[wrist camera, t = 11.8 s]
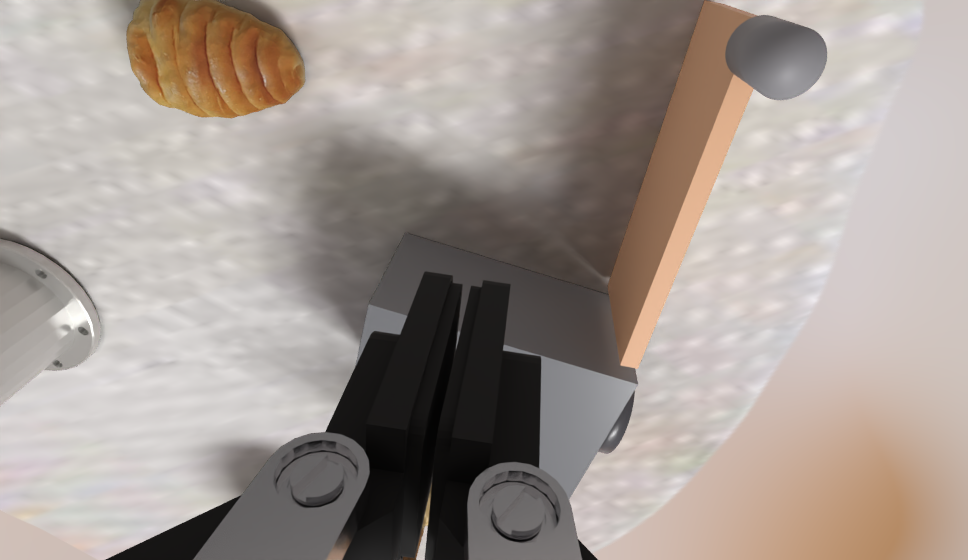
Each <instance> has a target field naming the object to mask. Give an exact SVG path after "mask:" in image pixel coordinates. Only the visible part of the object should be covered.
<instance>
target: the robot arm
mask: <svg viewBox="0 0 968 560" xmlns="http://www.w3.org/2000/svg"><path fill="white" fill-rule="evenodd" d="M510 286H511V284H508V283H501V282H494V281H488V280H483V283H482V287H478V286H471V288H470V292H469V297H468V301H467V305H466V310H465V314H464V318H463V322H462V327H461V331H460V335H459V340H458V344H457V335H458V326H459V317H460V307H461V298H462V288H463V284H458V283H453V275H448V274H441V273H434V272H428V271H425V272H424V274H423V277H422V279H421V282H420V284H419V287H418V289H417V292H416V295H415V297H414V300H413V302H412V305H411V308H410V310H409V313H408V315H407V318H406V321H405V323H404V326H403V328H402V331H401V333H400V335H399V334H392V333H386V332H379V331H374V332H372V333H371V335H370V337H369V339H368V341H367V343H366V345H365V347H364V350H363V352H362V354H361V356H360V358H359V360H358V363H357V365H356V367H355V369H354V371H353V373H352V376H351V378H350V380H349V382H348V384H347V386H346V388H345V391H344V393H343V395H342V397H341V399H340V401H339V404H338V406H337V408H336V410H335V412H334V414H333V417H332V419H331V421H330V423H329V425H328V427H327V430H326V432H322V433H310V434H307V435H304V436H301V437H298V438H295V439H293V440H291V441H290V442H288V443H286V444H285V445H283V446H281V447H280V448H279V449H278V450H277V451H276V452H275V453H274V454H273V455H272V456H271V457H270V458H269V460H268V461H267V462H266V464H265V465H264V466H263V468H262V469H261V470H260V472H259V473H258V474H257V476H256V477H255V478H254V480H253V481H252V482H251V484H250V485H249V486H248V487H247V489H246V490H245V491H244V493H243V494H242V495H241V496H239V497H237V498H234V499H232V500H230V501H228V502H226V503H224V504H222V505H220V506H218V507H215V508H213V509H211V510H209V511H207V512H205V513H203V514H201V515H199V516H197V517H194V518H192V519H190V520H188V521H186V522H184V523H182V524H180V525H178V526H175V527H173V528H171V529H169V530H167V531H165V532H163V533H161V534H159V535H157V536H154V537H152V538H150V539H148V540H146V541H144V542H142V543H140V544H138V545H135V546H133V547H131V548H129V549H127V550H125V551H123V552H121V553H119V554H116V555H114V556H112V557H110V558H108V559H106V560H403V557H409V558H415V556H416V552H417V548H418V543H419V539H420V534H421V530H422V525H423V521H424V516H425V512H426V507H427V503H428V498H429V493H430V489H431V499H430V509H429V520H428V531H427V541H426V552H425V560H597V558H596V557H595V556H594V555H593V554H592V553H591V552H590V551H589V550H588V549H587V548H586V547H585V546H584V545H583V544H582V543H581V542H580V541H579V540H578V537H577V533H576V528H575V523H574V518H573V513H572V508H571V505H570V502H569V499H568V497H567V494H566V492H565V491H564V489H563V488H562V487H561V485H560V484H559V483H558V481H557V480H556V479H554V478H553V477H552V476H551V475H549V474H548V473H547V472H545V471H544V470H542V469H539V459H540V409H541V356H536V355H529V354H523V353H516V352H510V351H503V347H504V338H505V330H506V321H507V312H508V304H509V295H510ZM100 337H101V327H100V322H99V318H98V315H97V312H96V310H95V308H94V306H93V304H92V302H91V300H90V299H89V297H88V296H87V294H86V293H85V291H84V290H83V289H82V287H81V286H80V285H79V284H78V283H77V282H76V281H75V280H74V279H73V278H72V277H71V276H70V275H69V274H68V273H67V272H66V271H64V270H63V269H62V268H61V267H60V266H59V265H57V264H56V263H54V262H53V261H51V260H50V259H48V258H47V257H45V256H44V255H42V254H40V253H38V252H36V251H34V250H32V249H30V248H28V247H26V246H23V245H20V244H18V243H15V242H12V241H8V240H3V239H0V406H1V405H2V404H4V403H5V402H6V401H7V400H8V399H10V398H11V397H12V396H13V395H14V394H16V393H17V392H18V391H19V390H20V389H22V388H23V387H24V386H25V385H26V384H28V383H29V382H30V381H31V380H32V379H34V378H35V377H36V376H37V375H38V374H40V373H41V372H42V371H43V370H52V371H57V370H67V369H70V368H73V367H77V366H78V365H80V364H81V363H83V362H84V361H85V360H87V359H88V358H89V357H90V356H91V355H92V354H93V353H94V352H95V350H96V349H97V347H98V345H99V342H100ZM456 344H457V348H456ZM431 484H432V488H431Z"/></svg>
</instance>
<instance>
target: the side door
mask: <svg viewBox="0 0 968 560" xmlns="http://www.w3.org/2000/svg"><path fill="white" fill-rule="evenodd" d="M826 61H827V48H826V44H825V42H824V40H823V38H822V37H821V36H820V35H819V34H818V33H817V32H816V31H814V30H812V29H810V28H807V27H804V26H801V25H798V24H795V23H792V22H789V21H786V20H782V19H779V18H776V17H773V16H768V15H761V16H757V15H754V14H751V13H748V12H745V11H742V10H739V9H736V8H734V7H731V6H728V5H725V4H721V3H716V2H711V1H706V0H704V3H703V6H702V9H701V12H700V15H699V18H698V21H697V24H696V27H695V29H694V32H693V35H692V38H691V41H690V44H689V47H688V50H687V53H686V56H685V59H684V62H683V65H682V68H681V71H680V74H679V77H678V80H677V83H676V86H675V88H674V91H673V94H672V97H671V100H670V103H669V106H668V109H667V112H666V115H665V118H664V121H663V124H662V127H661V130H660V133H659V136H658V139H657V142H656V144H655V147H654V150H653V153H652V156H651V159H650V162H649V165H648V168H647V171H646V174H645V177H644V180H643V183H642V186H641V189H640V192H639V195H638V198H637V201H636V203H635V206H634V209H633V212H632V215H631V218H630V221H629V224H628V227H627V230H626V233H625V236H624V239H623V242H622V245H621V248H620V251H619V254H618V257H617V260H616V262H615V265H614V268H613V271H612V274H611V277H610V280H609V283H608V292H609V298H610V304H611V311H612V317H613V323H614V329H615V336H616V342H617V348H618V355H619V361H620V365H621V366H626V367H631V368H636V369H638V367H639V364H640V362H641V359H642V357H643V355H644V352H645V350H646V347H647V345H648V343H649V340H650V338H651V335H652V333H653V330H654V328H655V326H656V323H657V321H658V318H659V316H660V314H661V311H662V309H663V306H664V304H665V302H666V299H667V297H668V294H669V292H670V289H671V287H672V285H673V282H674V280H675V277H676V275H677V273H678V270H679V268H680V265H681V263H682V260H683V258H684V256H685V253H686V251H687V248H688V246H689V244H690V241H691V239H692V236H693V234H694V231H695V229H696V227H697V224H698V222H699V219H700V217H701V215H702V212H703V210H704V207H705V205H706V202H707V200H708V198H709V195H710V193H711V190H712V188H713V186H714V183H715V181H716V178H717V176H718V174H719V171H720V169H721V166H722V164H723V161H724V159H725V157H726V154H727V152H728V149H729V147H730V145H731V142H732V140H733V137H734V135H735V132H736V130H737V128H738V125H739V123H740V120H741V118H742V116H743V113H744V111H745V108H746V106H747V103H748V101H749V99H750V96H751V94H752V91H753V89H755V90H757V91H758V92H759V93H761V94H762V95H764V96H765V97H767V98H770V99H774V100H787V99H791V98H794V97H797V96H799V95H801V94H803V93H804V92H806V91H807V90H808V89H810V88H811V87H812V86H813V85H814V84H815V83H816V81H817V80H818V79H819V77H820V76H821V74H822V72H823V70H824V68H825V65H826Z"/></svg>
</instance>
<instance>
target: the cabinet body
mask: <svg viewBox="0 0 968 560" xmlns="http://www.w3.org/2000/svg"><path fill="white" fill-rule="evenodd" d="M425 271H428V272H434V273H441V274H448V275H453V283H458V284H463V288H462V298H461V307H460V317H459V326H458V335H457V344H458V340H459V335H460V331H461V327H462V322H463V318H464V314H465V310H466V305H467V301H468V297H469V292H470V288H471V286H478V287H482V283H483V280H488V281H494V282H501V283H508V284H511V286H510V295H509V304H508V312H507V321H506V330H505V338H504V347H503V351H510V352H516V353H523V354H529V355H536V356H541V409H540V459H539V469H542V470H544V471H545V472H547V473H548V474H549V475H551V476H552V477H553V478H554V479H556V480H557V481H558V483H559V484H560V485H561V487H562V488H563V489H564V491H565V492H566V494H567V497H568V499H570V497H571V495H572V494H573V492H574V490H575V489H576V487H577V485H578V484H579V482H580V480H581V479H582V477H583V475H584V474H585V472H586V470H587V469H588V467H589V465H590V464H591V462H592V460H593V459H594V457H595V455H596V454H597V452H602V453H606V454H608V453H610V452H612V451H613V450H614V449H615V448H616V447H617V446H618V444H619V443H620V441H621V439H622V437H623V435H624V433H625V431H626V428H627V426H628V423H629V420H630V416H631V412H632V408H633V402H634V394H635V389H636V387H637V385H638V382H637V376H636V371H635V368H631V367H626V366H621V365H620V361H619V355H618V348H617V342H616V336H615V329H614V323H613V317H612V311H611V304H610V298H609V295H608V294H604V293H601V292H598V291H594V290H591V289H588V288H585V287H581V286H578V285H575V284H572V283H568V282H565V281H562V280H559V279H555V278H552V277H549V276H546V275H542V274H539V273H536V272H533V271H529V270H526V269H523V268H519V267H516V266H513V265H510V264H506V263H503V262H500V261H497V260H493V259H490V258H487V257H484V256H480V255H477V254H474V253H471V252H467V251H464V250H461V249H458V248H454V247H451V246H448V245H444V244H441V243H438V242H435V241H431V240H428V239H425V238H422V237H418V236H415V235H412V234H409V233H405V234H404V236H403V238H402V240H401V242H400V244H399V246H398V248H397V250H396V252H395V254H394V256H393V258H392V260H391V262H390V264H389V266H388V267H387V269H386V271H385V273H384V275H383V277H382V279H381V281H380V283H379V285H378V287H377V289H376V291H375V293H374V295H373V297H372V299H371V300H370V302H369V305H368V309H367V314H366V319H365V323H364V328H363V333H362V338H361V342H360V347H359V352H358V357H357V361H356V365H357V363H358V360H359V358H360V356H361V354H362V352H363V350H364V347H365V345H366V343H367V341H368V339H369V337H370V335H371V333H372V332H374V331H379V332H386V333H392V334H399V335H400V333H401V331H402V328H403V326H404V323H405V321H406V318H407V315H408V313H409V310H410V308H411V305H412V302H413V300H414V297H415V295H416V292H417V289H418V287H419V284H420V282H421V279H422V277H423V274H424V272H425ZM457 344H456V348H457ZM355 367H356V366H355Z"/></svg>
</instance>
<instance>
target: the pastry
mask: <svg viewBox="0 0 968 560" xmlns="http://www.w3.org/2000/svg"><path fill="white" fill-rule="evenodd" d="M126 36H127V49H128V54H129V58H130V63H131V68H132V71H133V72H134V74H135V75H136V77H137V78H138V79H139V81H140V85H141V87H142V88H143V90H144V91H145V92H146V93H147V94H148V95H149V96H150V97H151V98H152V99H153V100H154V101H156V102H157V103H158V104H159V105H163V106H166V107H169V108H177V109H180V110H182V111H185V112H187V113H190V114H192V115H195V116H199V117H224V118H234V117H237V116H244V115H247V114H250V113H252V112H258V111H260V110H263V109H265V108H269V107H272V106H275V105H278V104H283V103H286V102H287V101H288V100H289V99H290V98H291V97H292V96H293V95H294V94H295V93H296V92H298V91H299V90H300V89H301V88H302V87H303V85H304V83H305V68H304V63H303V60H302V58H301V56H300V54H299V52H298V50H297V49H296V47H295V46H294V44H293V43H292V41H291V40H290V39H289V38H288V37H287V36H286V35H285V34H284V32H283V31H282V30H281V29H279V28H277V27H274V26H271V25H269V24H268V23H266V22H262V21H260V20H258V19H257V18H255V17H254V16H253V15H251V14H250V13H245V12H243V11H240V10H238V9H236V8H235V7H229V6H227V5H224V4H222V3H220V2H218V1H217V0H197V1H196V0H141V1H140V4H139V7H138V8H136V9H135V11H134V14H133V20H132V21H131V22H130V24H129V25H128V29H127V35H126Z"/></svg>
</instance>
